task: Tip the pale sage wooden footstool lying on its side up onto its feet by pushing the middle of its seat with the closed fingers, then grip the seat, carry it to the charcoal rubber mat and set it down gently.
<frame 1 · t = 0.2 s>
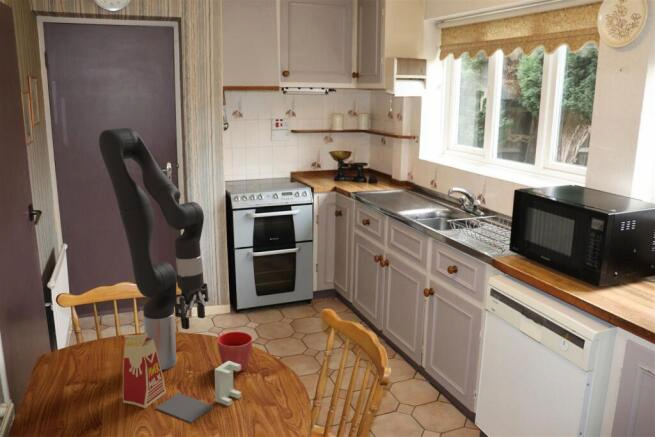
hand: (193, 323, 171), 18 cm above the table, tool pointing down, fingers open, 8 cm apart
flower pot: (235, 367, 182), on the table
mat: (184, 408, 158), on the table
stool: (222, 396, 165), on the table
milk carton: (142, 397, 164), on the table
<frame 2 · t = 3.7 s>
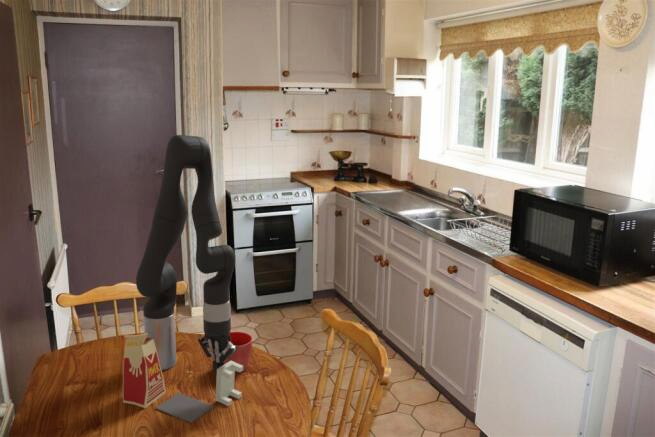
hand: (218, 372, 164), 7 cm above the table, tool pointing down, fingers closed
stool: (222, 395, 165), on the table, touching gripper
everything else where it was.
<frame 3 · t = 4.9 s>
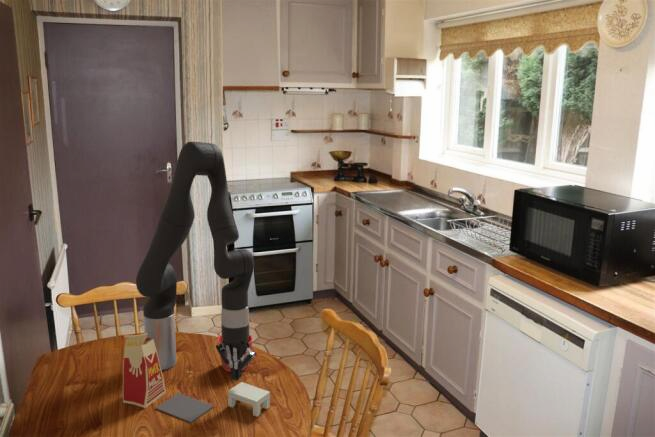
hand: (236, 379, 160), 7 cm above the table, tool pointing down, fingers closed
stool: (234, 386, 161), point 5 cm above the table, tilted 90°
everything else where it was.
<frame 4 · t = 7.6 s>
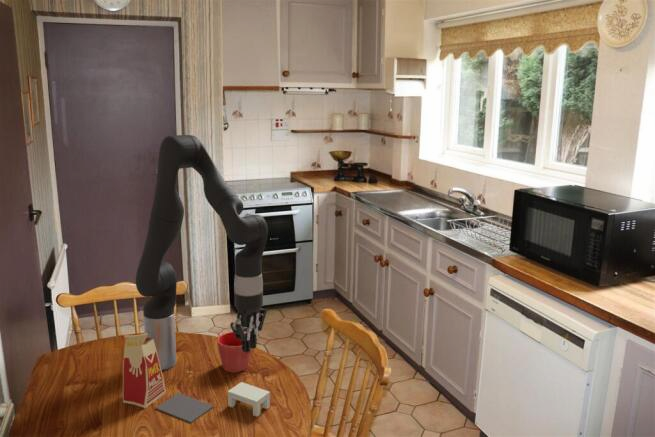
hand: (249, 349, 156), 17 cm above the table, tool pointing down, fingers closed
nothing on the table moved.
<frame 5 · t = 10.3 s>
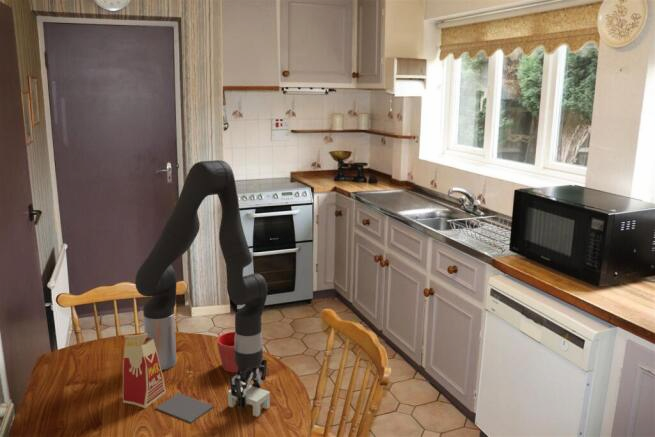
hand: (249, 401, 160), 1 cm above the table, tool pointing down, fingers closed on stool, 6 cm apart
stool: (234, 386, 161), point 5 cm above the table, tilted 90°, touching gripper
everything else where it was.
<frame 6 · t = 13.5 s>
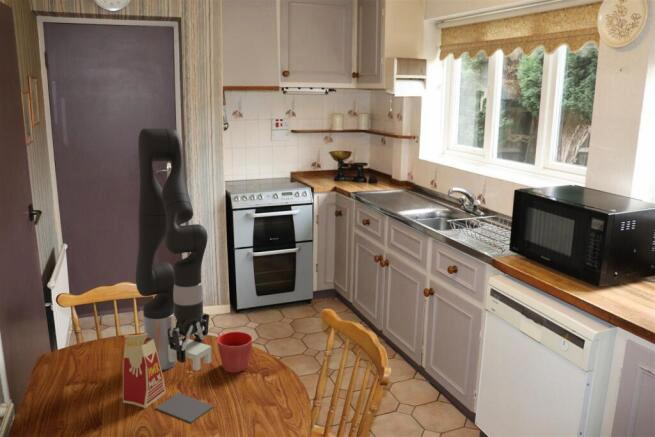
hand: (190, 356, 156), 15 cm above the table, tool pointing down, fingers closed on stool, 6 cm apart
stool: (175, 341, 157), point 18 cm above the table, tilted 91°, touching gripper
everything else where it was.
when the fingers open (3 cm above the table, at t = 17.1 s): stool drops 1 cm, resting on mat.
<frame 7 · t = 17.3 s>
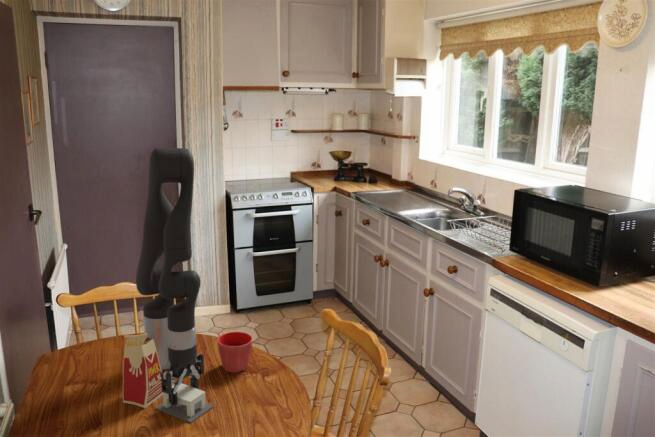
hand: (184, 397, 158), 3 cm above the table, tool pointing down, fingers open, 7 cm apart
stool: (170, 386, 160), point 5 cm above the table, tilted 90°, touching mat
everything else where it was.
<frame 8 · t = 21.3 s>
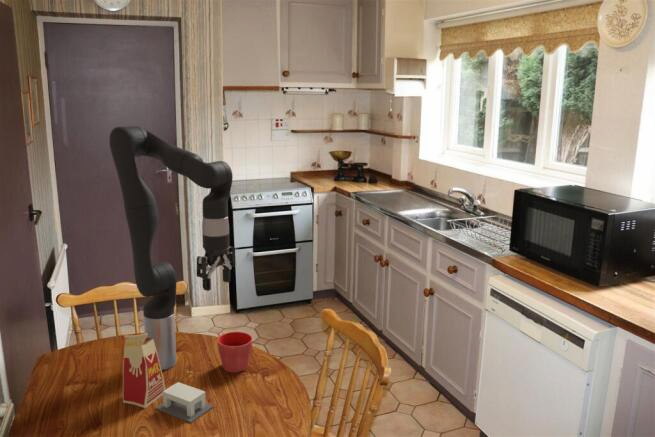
hand: (217, 285, 167), 30 cm above the table, tool pointing down, fingers open, 8 cm apart
nothing on the table moved.
at the end: stool 0.0 cm from the target spot on the mat, point 5.0 cm above the mat's base; stool touching mat; the gripper is holding nothing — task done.
